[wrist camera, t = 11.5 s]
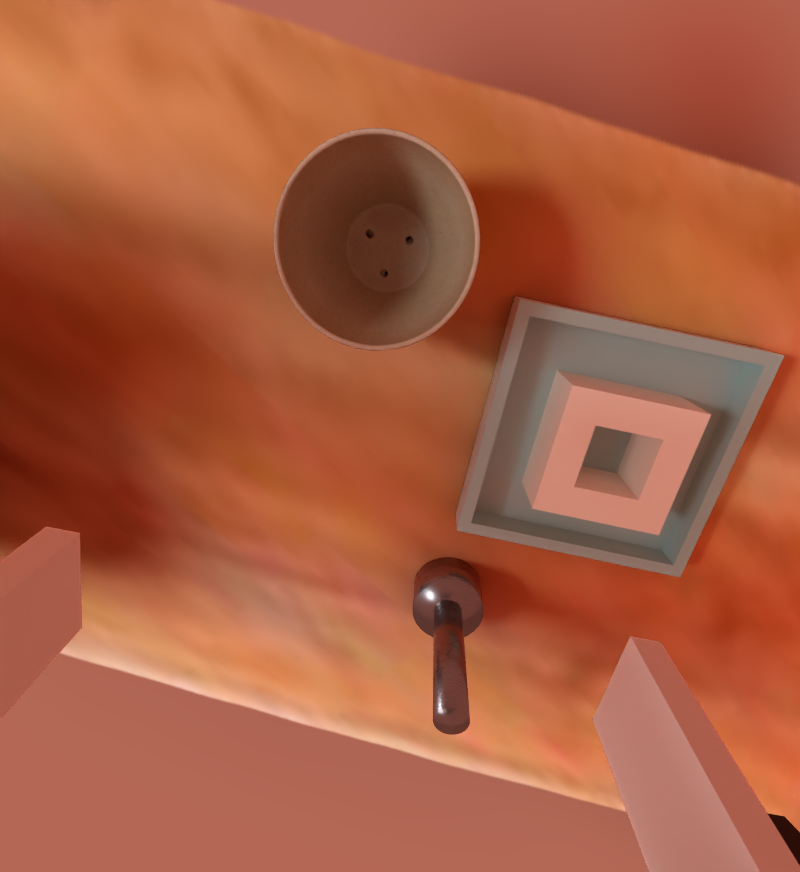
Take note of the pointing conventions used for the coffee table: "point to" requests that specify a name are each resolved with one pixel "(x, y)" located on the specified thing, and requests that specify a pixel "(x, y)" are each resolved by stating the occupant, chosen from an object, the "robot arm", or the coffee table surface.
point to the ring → (642, 461)
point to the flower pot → (376, 239)
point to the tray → (618, 362)
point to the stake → (448, 634)
